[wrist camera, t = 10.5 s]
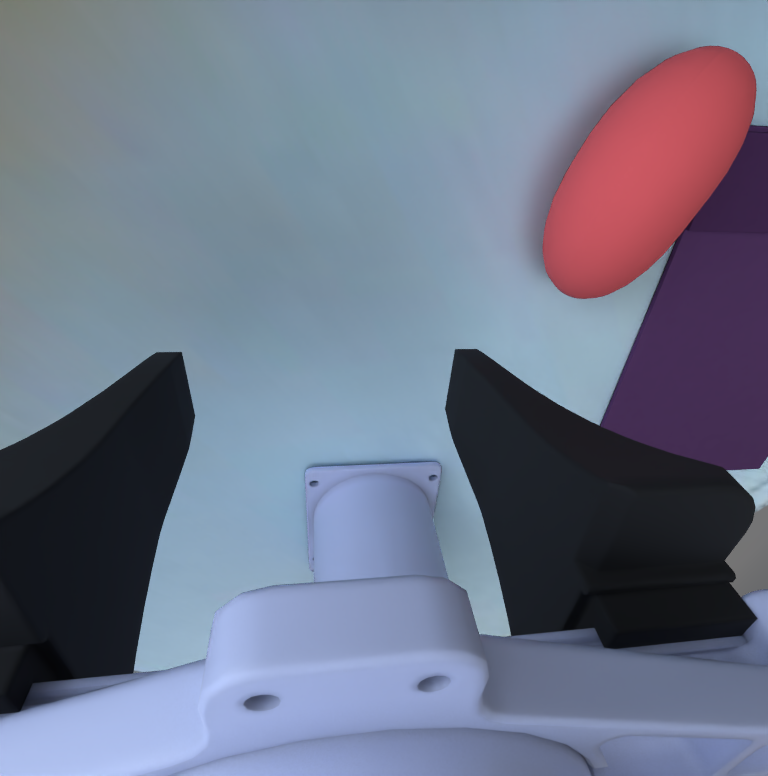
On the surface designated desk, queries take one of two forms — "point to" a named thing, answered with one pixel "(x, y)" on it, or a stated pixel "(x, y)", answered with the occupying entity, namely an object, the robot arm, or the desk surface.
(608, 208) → the red oval piece
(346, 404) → the desk surface
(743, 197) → the cloth
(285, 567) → the desk surface
